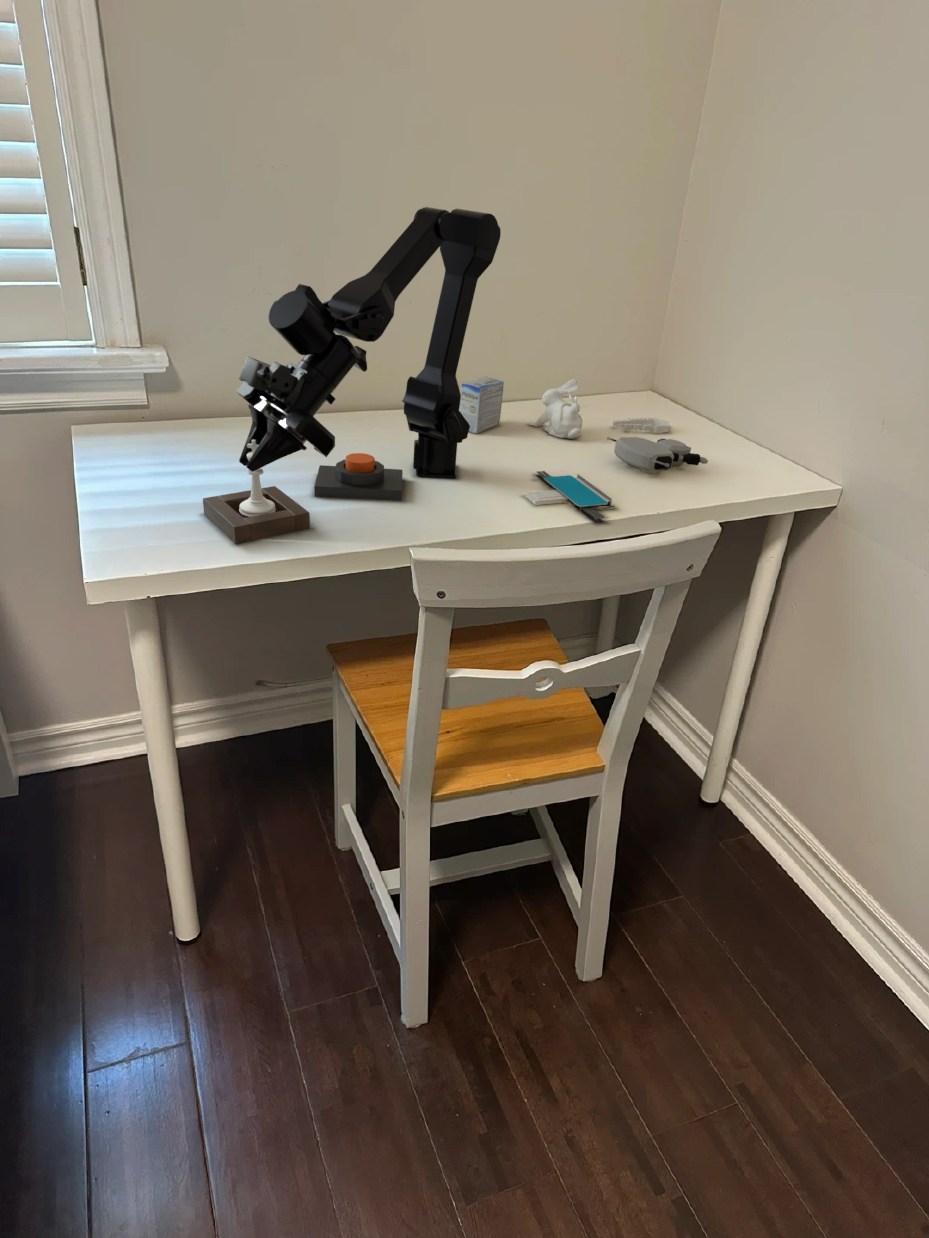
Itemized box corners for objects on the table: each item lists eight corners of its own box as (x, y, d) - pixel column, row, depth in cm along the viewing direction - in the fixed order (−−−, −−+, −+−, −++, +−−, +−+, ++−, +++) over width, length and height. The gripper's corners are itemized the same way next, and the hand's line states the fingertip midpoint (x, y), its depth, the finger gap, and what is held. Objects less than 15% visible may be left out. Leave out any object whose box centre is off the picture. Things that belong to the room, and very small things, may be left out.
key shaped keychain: (622, 436, 166) (623, 427, 165) (608, 428, 170) (610, 419, 169) (677, 432, 171) (679, 423, 170) (663, 424, 175) (664, 416, 174)
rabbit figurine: (527, 424, 168) (533, 374, 163) (558, 420, 171) (564, 372, 167) (565, 443, 159) (573, 391, 154) (596, 439, 163) (605, 388, 158)
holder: (275, 501, 126) (274, 485, 124) (310, 529, 118) (309, 512, 117) (203, 515, 120) (202, 498, 118) (235, 544, 112) (234, 527, 111)
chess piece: (267, 519, 116) (263, 448, 111) (233, 514, 117) (227, 443, 111) (281, 506, 120) (278, 437, 115) (248, 501, 121) (243, 432, 116)
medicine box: (481, 420, 168) (485, 375, 163) (500, 425, 166) (504, 380, 161) (457, 428, 162) (460, 382, 158) (476, 434, 160) (480, 388, 156)
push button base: (402, 479, 137) (402, 458, 135) (401, 501, 129) (402, 479, 128) (319, 475, 136) (319, 454, 134) (314, 497, 128) (314, 474, 126)
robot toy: (661, 455, 160) (599, 458, 152) (667, 431, 158) (604, 433, 150) (708, 477, 151) (645, 482, 144) (715, 453, 149) (651, 456, 141)
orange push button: (375, 464, 133) (375, 453, 132) (374, 474, 129) (374, 463, 129) (346, 463, 133) (346, 452, 132) (344, 473, 129) (344, 462, 128)
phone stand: (503, 478, 141) (504, 468, 140) (566, 473, 146) (568, 463, 145) (560, 527, 125) (561, 516, 125) (629, 519, 130) (631, 509, 129)
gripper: (245, 319, 115) (173, 410, 115) (311, 351, 102) (230, 454, 102) (301, 372, 123) (233, 457, 123) (368, 408, 111) (292, 503, 110)
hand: (245, 466), depth 114 cm, fingers closed on chess piece
